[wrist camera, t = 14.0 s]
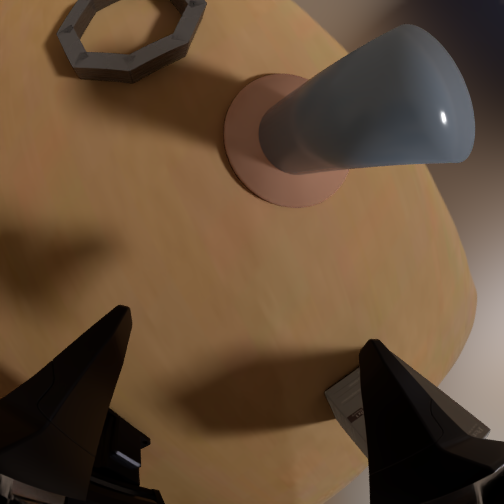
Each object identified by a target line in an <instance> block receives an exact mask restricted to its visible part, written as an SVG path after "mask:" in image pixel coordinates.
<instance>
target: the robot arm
mask: <svg viewBox="0 0 504 504" xmlns="http://www.w3.org/2000/svg"><path fill="white" fill-rule="evenodd" d="M131 329H132V318H131V311H130V308H129V307H128V306H124V305H118V306H116V307H115V308H114V309H112V310H111V311H110V312H109V313H108V314H106V315H105V316H104V317H103V318H101V319H100V320H99V321H98V322H97V323H95V324H94V325H93V326H92V327H90V328H89V329H88V330H87V331H86V332H84V333H83V334H82V335H81V336H80V337H79V338H77V339H76V340H75V341H74V342H73V343H71V344H70V345H69V346H68V347H67V348H66V349H64V350H63V351H62V352H61V353H60V354H59V355H57V356H56V357H55V358H54V359H53V361H51V362H49V363H48V364H47V365H46V366H45V367H44V368H42V369H41V370H40V371H39V372H38V373H37V374H35V375H34V376H33V377H31V378H30V379H29V380H27V381H26V382H25V383H23V384H22V385H20V386H19V387H18V388H16V389H15V390H13V391H12V392H11V393H9V394H8V395H6V396H5V397H3V398H2V399H0V504H165V503H164V501H163V499H162V496H161V494H160V491H159V490H155V489H148V488H144V487H140V486H139V485H140V479H139V467H141V449H142V448H144V447H146V446H148V445H150V438H148V437H147V436H145V435H144V434H143V433H141V432H140V431H138V430H137V429H136V428H134V427H133V426H131V425H130V424H129V423H127V422H126V421H125V420H124V419H122V418H121V417H120V416H118V415H117V414H116V413H115V412H113V411H112V410H111V409H110V408H109V405H110V402H111V399H112V396H113V393H114V390H115V387H116V384H117V381H118V378H119V375H120V372H121V369H122V366H123V362H124V358H125V354H126V349H127V345H128V341H129V337H130V333H131ZM359 366H360V386H361V396H362V403H363V411H364V420H365V429H366V439H367V450H368V464H369V482H370V483H369V484H370V504H504V442H502V441H495V440H488V439H482V438H477V437H473V436H471V435H469V434H467V433H466V432H465V431H464V430H463V429H461V428H460V427H459V426H458V425H457V424H456V423H455V422H454V421H453V420H452V419H451V418H450V417H449V416H448V415H447V414H446V413H445V412H444V411H443V410H442V409H441V407H440V406H439V405H438V404H437V403H436V402H435V401H434V400H433V398H431V396H430V395H429V394H428V393H427V392H426V391H425V389H424V388H423V387H422V386H421V385H420V384H419V383H418V382H417V380H416V379H415V378H414V377H413V376H412V375H411V374H410V373H409V372H408V370H407V369H406V368H405V367H404V366H403V365H402V364H401V363H400V362H399V361H398V359H397V358H396V357H395V356H394V355H393V354H392V353H391V352H390V351H389V350H388V349H387V347H386V346H385V345H384V344H383V343H382V342H381V341H380V340H378V339H370V340H368V341H367V343H366V344H365V345H364V347H363V348H362V349H361V351H360V353H359Z"/></svg>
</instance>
